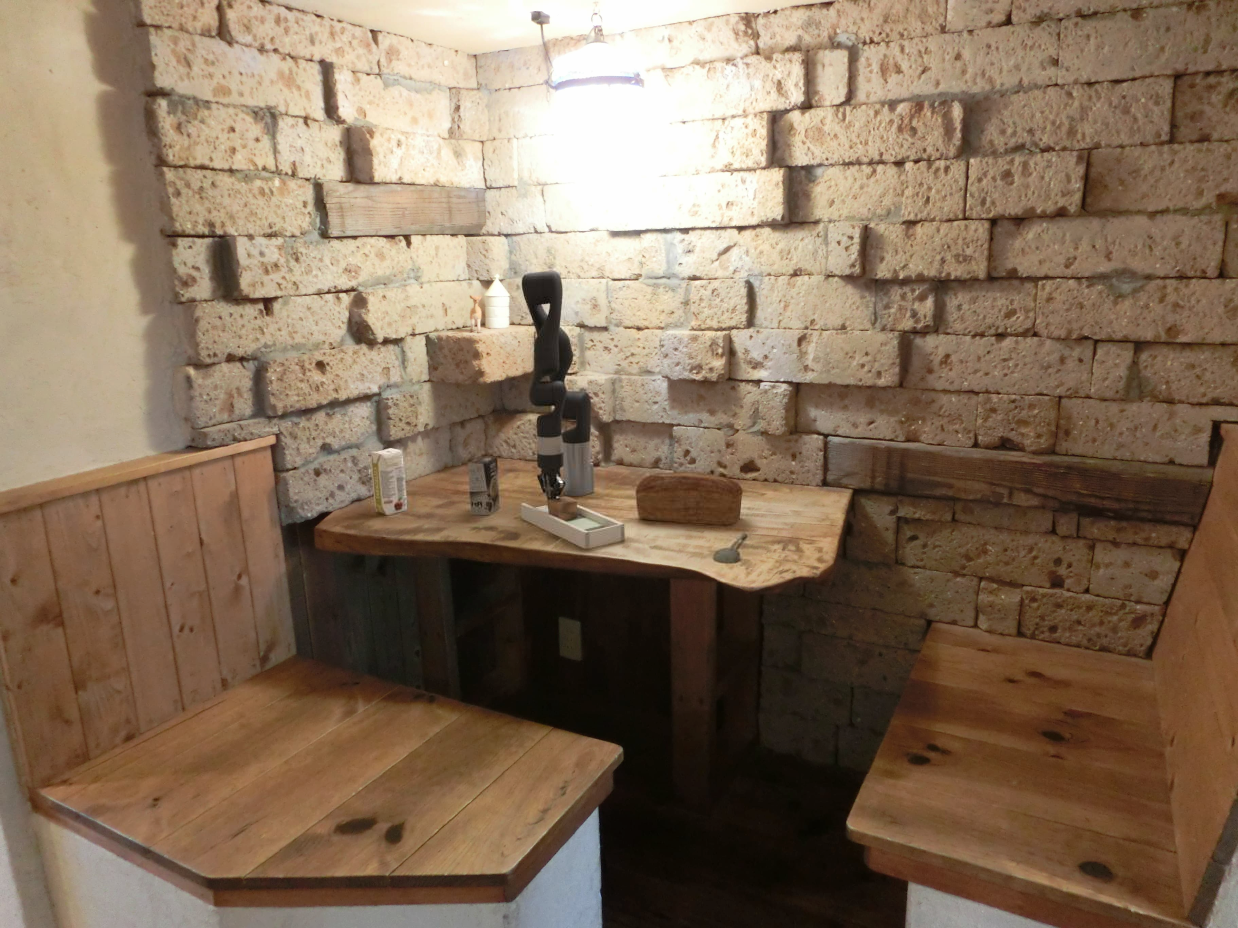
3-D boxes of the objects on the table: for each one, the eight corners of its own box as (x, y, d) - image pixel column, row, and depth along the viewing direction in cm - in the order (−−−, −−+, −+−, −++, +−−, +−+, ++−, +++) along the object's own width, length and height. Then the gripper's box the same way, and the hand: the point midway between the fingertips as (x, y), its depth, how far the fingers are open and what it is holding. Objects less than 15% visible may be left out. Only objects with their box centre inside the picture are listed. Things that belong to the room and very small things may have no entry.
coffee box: (490, 515, 254) (487, 463, 250) (470, 514, 255) (466, 462, 251) (500, 507, 262) (497, 456, 258) (481, 506, 263) (477, 455, 260)
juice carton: (410, 510, 261) (405, 450, 256) (386, 516, 255) (380, 455, 250) (396, 506, 266) (391, 446, 261) (372, 512, 260) (366, 451, 255)
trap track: (557, 510, 257) (557, 496, 256) (624, 539, 229) (624, 523, 228) (521, 518, 250) (521, 503, 249) (586, 549, 222) (585, 532, 221)
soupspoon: (709, 566, 211) (735, 570, 209) (710, 553, 210) (735, 557, 208) (733, 536, 231) (757, 540, 228) (733, 524, 230) (757, 528, 227)
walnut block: (566, 512, 246) (566, 496, 245) (577, 517, 241) (576, 500, 240) (548, 516, 243) (547, 499, 242) (559, 521, 238) (558, 504, 237)
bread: (738, 529, 236) (739, 482, 233) (632, 521, 245) (631, 476, 242) (745, 516, 248) (745, 471, 245) (643, 509, 256) (642, 466, 253)
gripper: (573, 453, 239) (575, 512, 243) (549, 445, 249) (552, 501, 254) (550, 456, 235) (552, 516, 239) (527, 448, 245) (529, 506, 250)
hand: (552, 508), depth 246 cm, fingers closed
